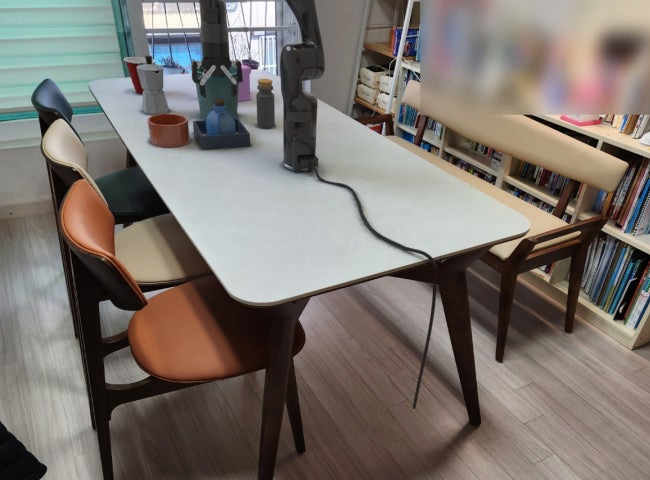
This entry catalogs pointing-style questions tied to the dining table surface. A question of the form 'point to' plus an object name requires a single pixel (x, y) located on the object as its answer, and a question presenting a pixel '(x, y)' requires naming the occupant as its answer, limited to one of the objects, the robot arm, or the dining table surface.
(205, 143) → the tray
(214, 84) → the flower pot
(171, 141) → the round terracotta bowl
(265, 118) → the bottle
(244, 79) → the teapot
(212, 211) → the dining table surface
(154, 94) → the coffee maker
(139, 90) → the plastic cup
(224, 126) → the perfume bottle
